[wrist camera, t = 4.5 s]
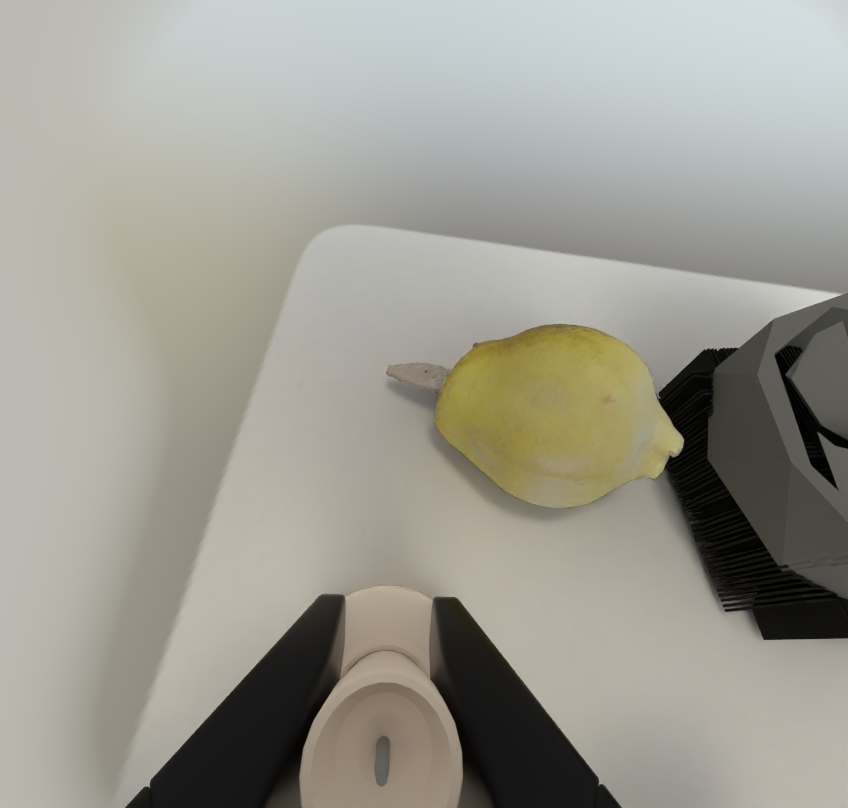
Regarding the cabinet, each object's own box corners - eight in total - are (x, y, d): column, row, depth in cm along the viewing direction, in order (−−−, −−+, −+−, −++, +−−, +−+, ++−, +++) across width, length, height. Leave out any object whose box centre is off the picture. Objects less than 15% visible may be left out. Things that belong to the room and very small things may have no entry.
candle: (320, 573, 14) (194, 428, 5) (481, 602, 14) (670, 513, 5) (264, 785, 11) (-283, 1414, 2) (463, 822, 11) (824, 1628, 2)
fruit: (415, 332, 19) (655, 383, 17) (373, 462, 18) (628, 536, 15) (385, 252, 13) (736, 312, 11) (320, 433, 12) (706, 541, 10)
